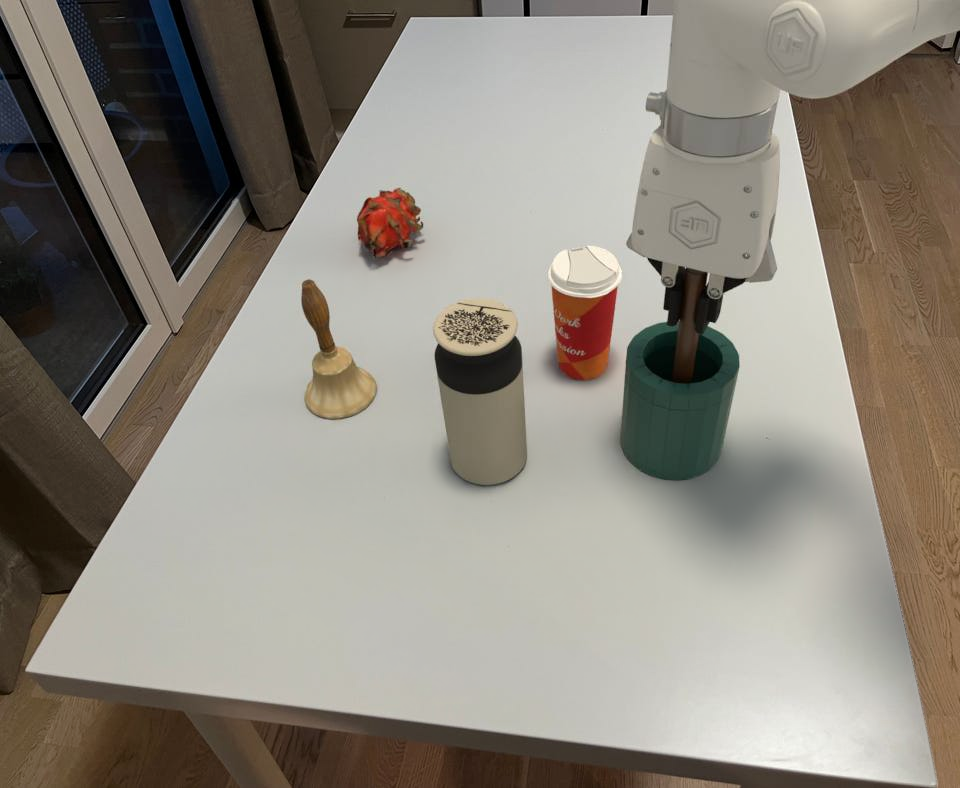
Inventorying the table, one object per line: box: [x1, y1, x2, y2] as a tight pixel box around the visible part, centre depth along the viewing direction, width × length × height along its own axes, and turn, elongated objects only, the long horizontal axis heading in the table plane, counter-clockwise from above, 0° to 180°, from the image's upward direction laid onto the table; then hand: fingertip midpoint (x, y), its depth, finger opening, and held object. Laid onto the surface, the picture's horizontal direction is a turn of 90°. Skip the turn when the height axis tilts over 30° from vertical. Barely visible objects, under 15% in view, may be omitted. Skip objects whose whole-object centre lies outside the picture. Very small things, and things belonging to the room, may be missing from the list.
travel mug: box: [432, 298, 528, 486], centre depth 76 cm, size 8×8×18 cm
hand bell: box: [300, 278, 378, 420], centre depth 85 cm, size 8×8×16 cm
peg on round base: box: [672, 267, 709, 384], centre depth 72 cm, size 4×4×20 cm
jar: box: [620, 321, 740, 481], centre depth 78 cm, size 10×10×12 cm
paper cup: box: [547, 245, 623, 381], centre depth 86 cm, size 8×8×14 cm
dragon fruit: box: [356, 187, 424, 259], centre depth 109 cm, size 8×8×12 cm
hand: (690, 319), depth 69 cm, fingers closed on peg on round base
